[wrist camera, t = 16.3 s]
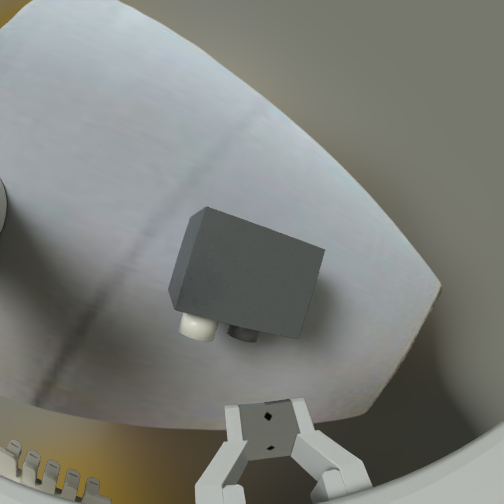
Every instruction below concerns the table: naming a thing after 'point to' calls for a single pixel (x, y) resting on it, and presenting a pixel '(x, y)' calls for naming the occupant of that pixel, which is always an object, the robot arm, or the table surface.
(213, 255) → the control box
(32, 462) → the white spaceship model
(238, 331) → the charcoal knob
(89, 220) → the table surface
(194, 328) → the ivory knob
